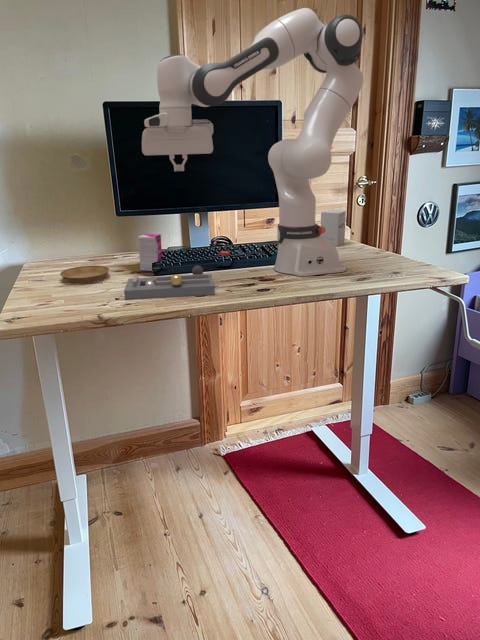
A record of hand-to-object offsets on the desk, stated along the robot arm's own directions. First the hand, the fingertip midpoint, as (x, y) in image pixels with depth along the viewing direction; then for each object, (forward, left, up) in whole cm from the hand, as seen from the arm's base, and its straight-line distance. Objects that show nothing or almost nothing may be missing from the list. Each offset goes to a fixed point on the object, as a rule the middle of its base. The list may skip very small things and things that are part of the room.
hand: (179, 171), depth 145 cm
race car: (-13, -12, -32) cm, 36 cm away
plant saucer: (+31, -2, -32) cm, 44 cm away
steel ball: (+10, +16, -30) cm, 35 cm away
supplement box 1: (+11, -8, -31) cm, 34 cm away
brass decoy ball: (+2, +20, -27) cm, 34 cm away
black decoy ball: (-4, +12, -27) cm, 30 cm away
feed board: (+4, +16, -31) cm, 35 cm away
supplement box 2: (-56, -33, -31) cm, 72 cm away
